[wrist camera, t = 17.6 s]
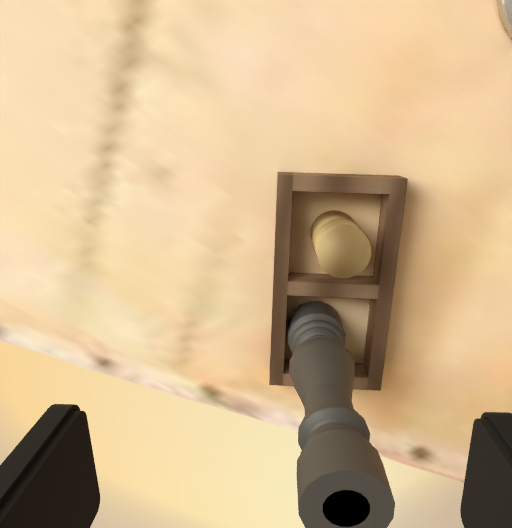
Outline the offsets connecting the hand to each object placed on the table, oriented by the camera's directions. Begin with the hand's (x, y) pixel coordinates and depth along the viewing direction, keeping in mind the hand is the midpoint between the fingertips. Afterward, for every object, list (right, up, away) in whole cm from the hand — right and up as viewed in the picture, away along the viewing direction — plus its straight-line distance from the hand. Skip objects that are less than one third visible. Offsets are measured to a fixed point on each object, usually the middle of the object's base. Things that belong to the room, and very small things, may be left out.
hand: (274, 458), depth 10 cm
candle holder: (+6, -2, +39) cm, 40 cm away
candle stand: (+8, +3, +37) cm, 38 cm away
